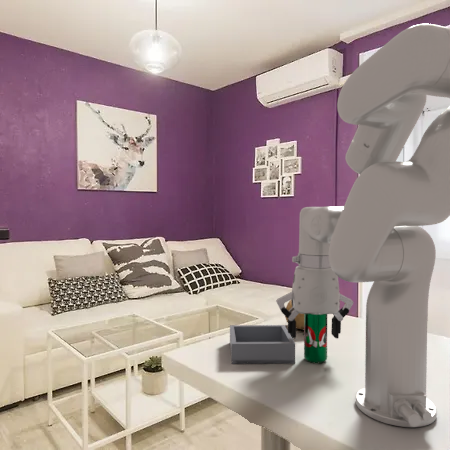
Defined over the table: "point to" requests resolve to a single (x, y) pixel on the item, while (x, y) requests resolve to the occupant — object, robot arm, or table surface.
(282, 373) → the table surface
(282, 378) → the table surface
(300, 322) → the potato
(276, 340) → the bin
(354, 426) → the table surface
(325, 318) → the soda can
